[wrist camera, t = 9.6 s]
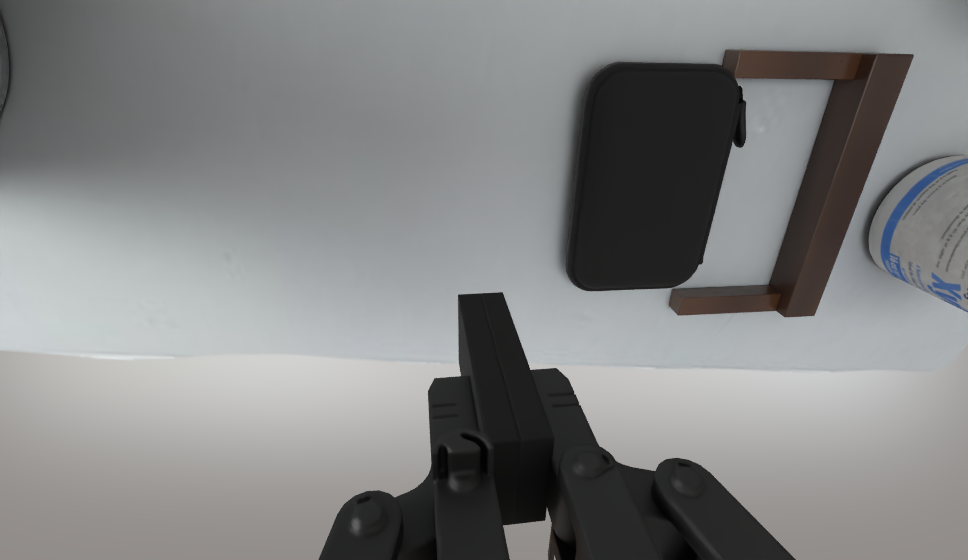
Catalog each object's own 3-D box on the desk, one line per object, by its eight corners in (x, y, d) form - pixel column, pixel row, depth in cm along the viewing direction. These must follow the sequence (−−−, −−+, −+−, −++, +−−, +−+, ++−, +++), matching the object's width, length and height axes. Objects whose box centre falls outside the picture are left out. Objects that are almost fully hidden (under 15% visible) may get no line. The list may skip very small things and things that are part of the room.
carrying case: (694, 276, 37) (746, 63, 30) (716, 295, 34) (779, 66, 27) (557, 281, 35) (580, 60, 29) (569, 301, 33) (597, 62, 26)
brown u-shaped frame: (668, 305, 37) (684, 322, 35) (725, 49, 29) (750, 50, 27) (792, 300, 39) (814, 316, 37) (879, 53, 31) (915, 54, 28)
